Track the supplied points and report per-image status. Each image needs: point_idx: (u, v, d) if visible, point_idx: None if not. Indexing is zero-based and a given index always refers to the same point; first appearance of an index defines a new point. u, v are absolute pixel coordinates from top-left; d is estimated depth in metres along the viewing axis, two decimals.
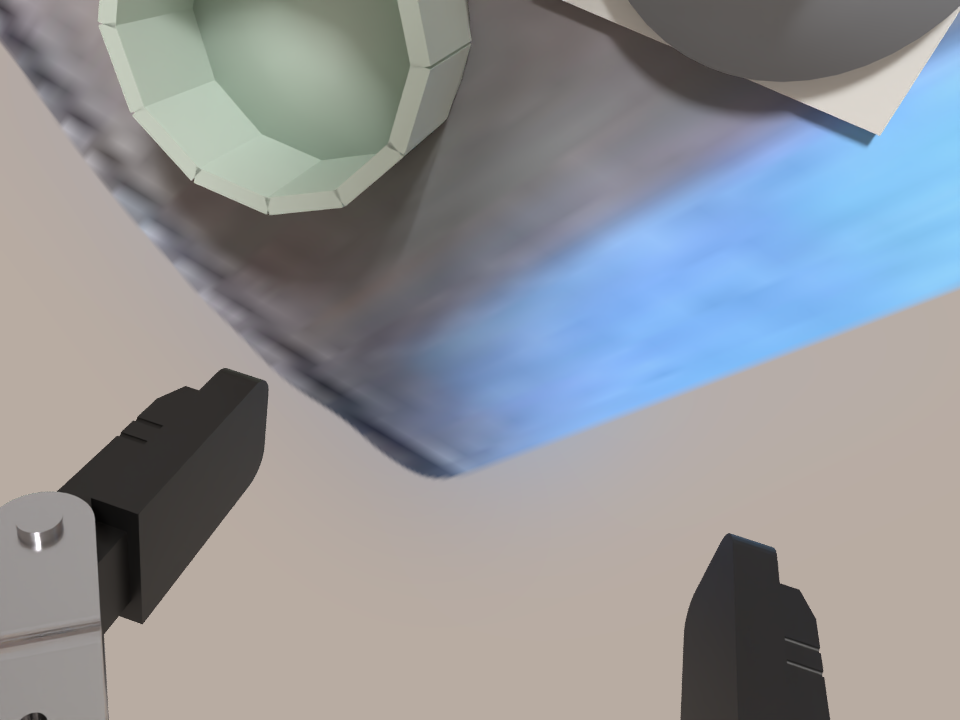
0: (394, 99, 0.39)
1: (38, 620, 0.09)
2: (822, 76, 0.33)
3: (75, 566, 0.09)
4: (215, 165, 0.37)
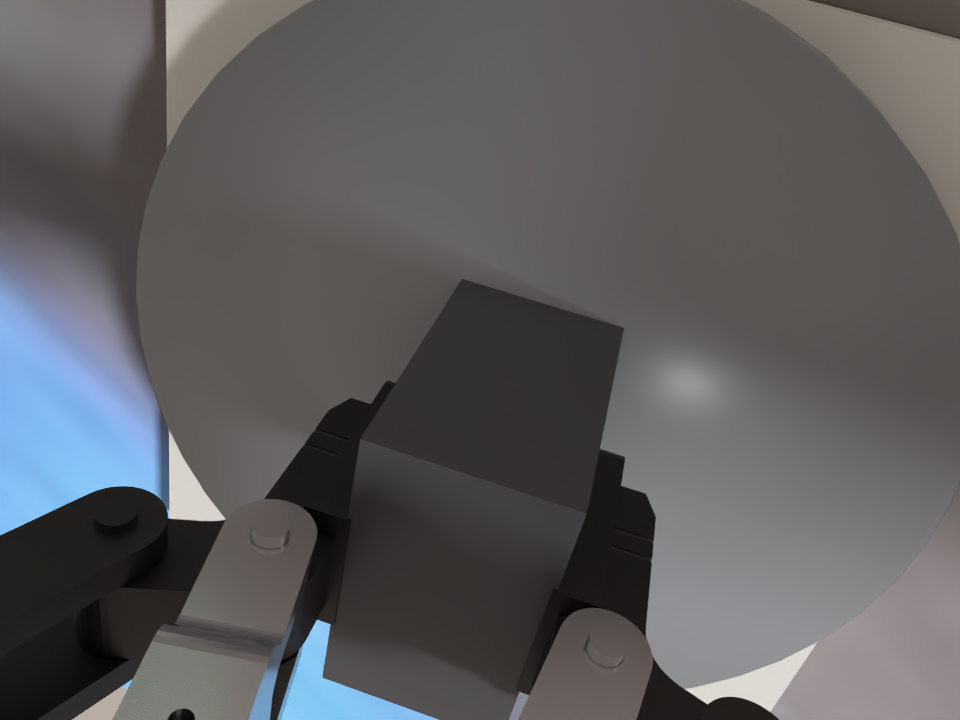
0: None
1: (233, 619, 0.09)
2: (195, 473, 0.19)
3: (282, 580, 0.10)
4: None
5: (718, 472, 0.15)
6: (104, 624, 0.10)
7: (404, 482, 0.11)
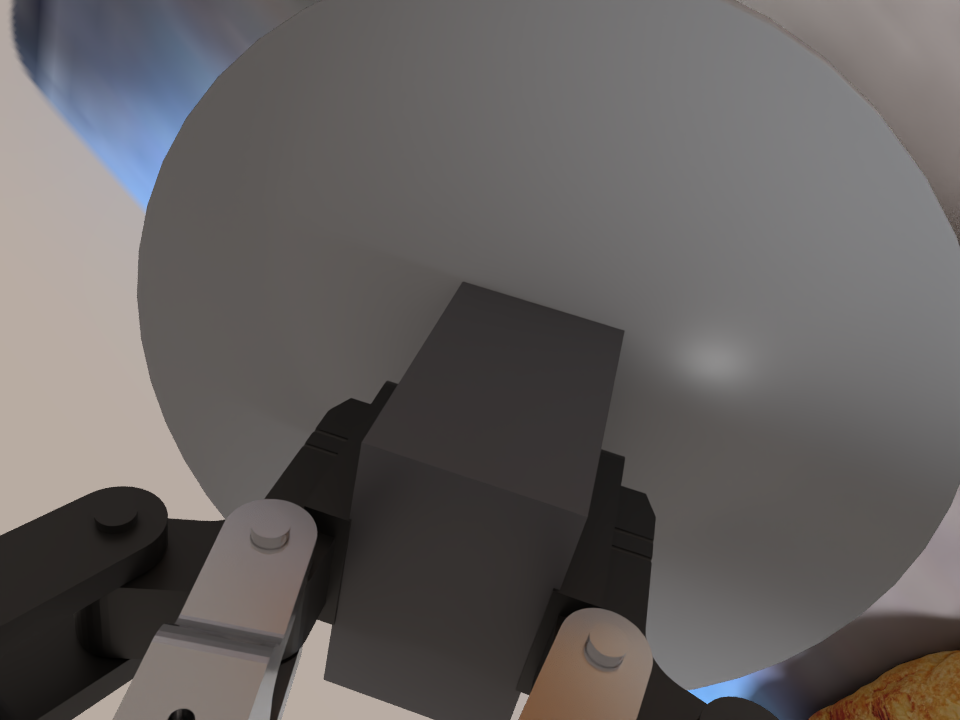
0: None
1: (233, 619, 0.09)
2: (196, 475, 0.19)
3: (282, 580, 0.10)
4: None
5: (718, 474, 0.15)
6: (104, 624, 0.10)
7: (405, 485, 0.11)
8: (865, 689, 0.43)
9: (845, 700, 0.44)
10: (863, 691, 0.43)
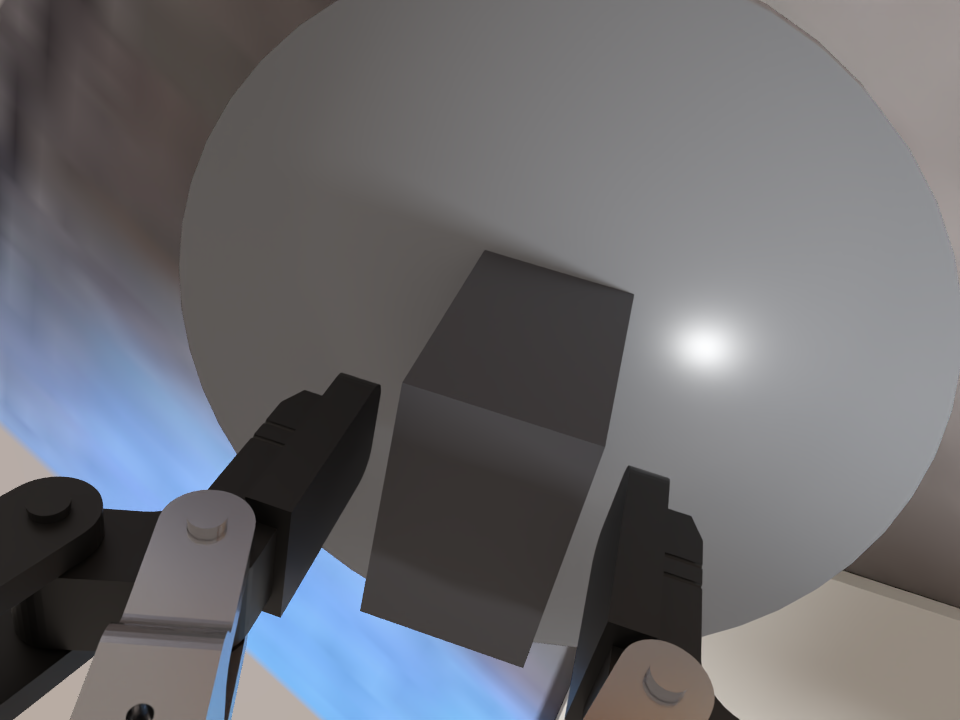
0: None
1: (180, 612, 0.09)
2: (230, 439, 0.20)
3: (225, 568, 0.10)
4: None
5: (721, 429, 0.16)
6: (45, 615, 0.10)
7: (441, 422, 0.12)
8: None
9: None
10: None
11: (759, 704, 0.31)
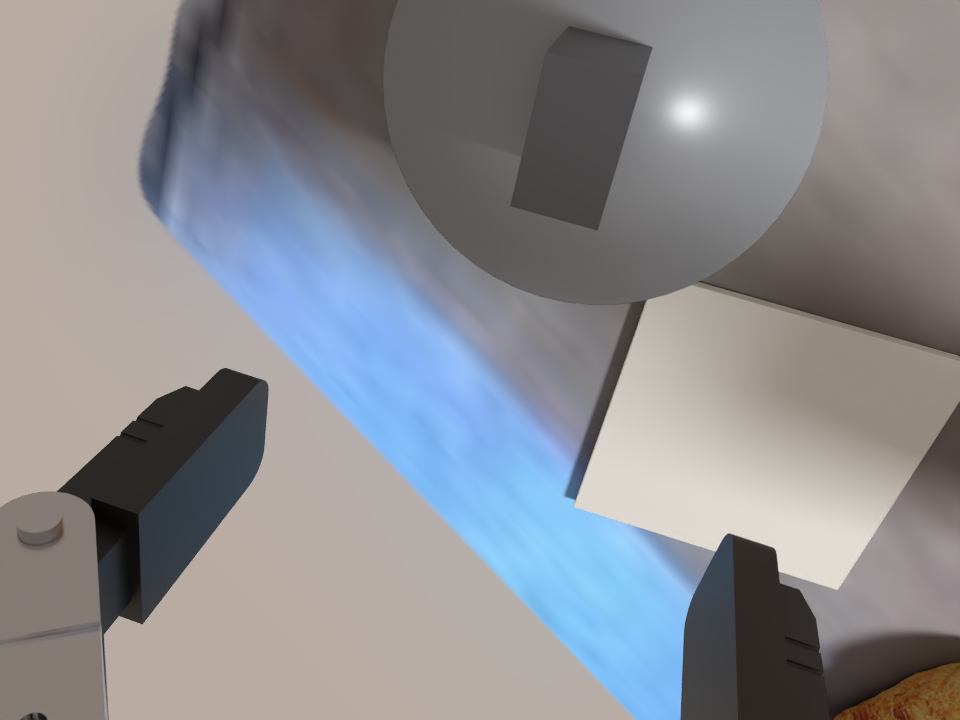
0: None
1: (38, 620, 0.09)
2: (403, 172, 0.33)
3: (75, 566, 0.09)
4: None
5: (701, 132, 0.29)
6: None
7: (563, 73, 0.24)
8: (886, 694, 0.50)
9: (868, 703, 0.51)
10: (884, 695, 0.50)
11: (736, 422, 0.43)
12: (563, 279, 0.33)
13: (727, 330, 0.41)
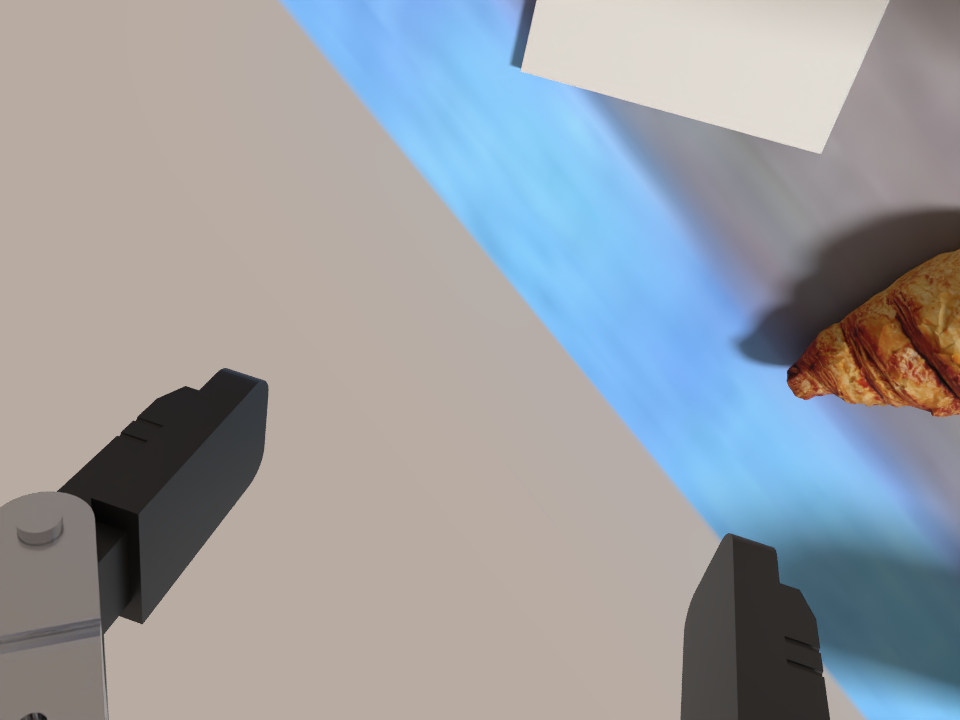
0: None
1: (38, 620, 0.09)
2: None
3: (75, 566, 0.09)
4: None
5: None
6: None
7: None
8: (878, 293, 0.44)
9: (857, 308, 0.44)
10: (876, 295, 0.44)
11: None
12: None
13: None
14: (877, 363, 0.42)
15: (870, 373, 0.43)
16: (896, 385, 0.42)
